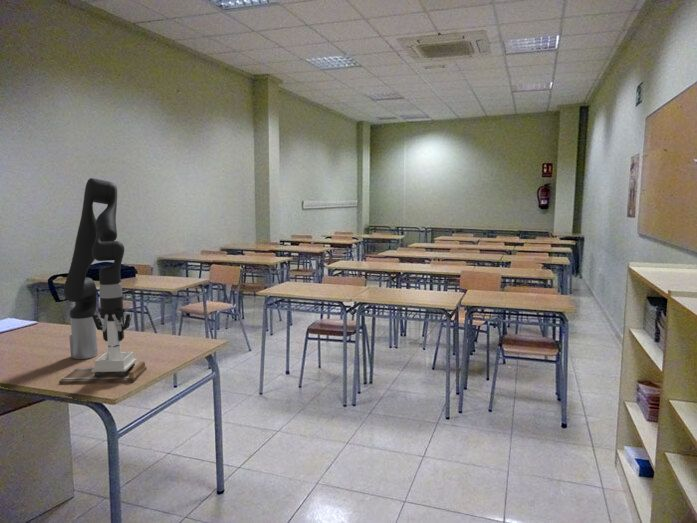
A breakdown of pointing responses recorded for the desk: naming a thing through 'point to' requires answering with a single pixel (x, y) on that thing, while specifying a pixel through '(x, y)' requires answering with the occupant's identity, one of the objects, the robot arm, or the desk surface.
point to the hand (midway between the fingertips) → (113, 340)
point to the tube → (113, 341)
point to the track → (103, 376)
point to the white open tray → (114, 364)
